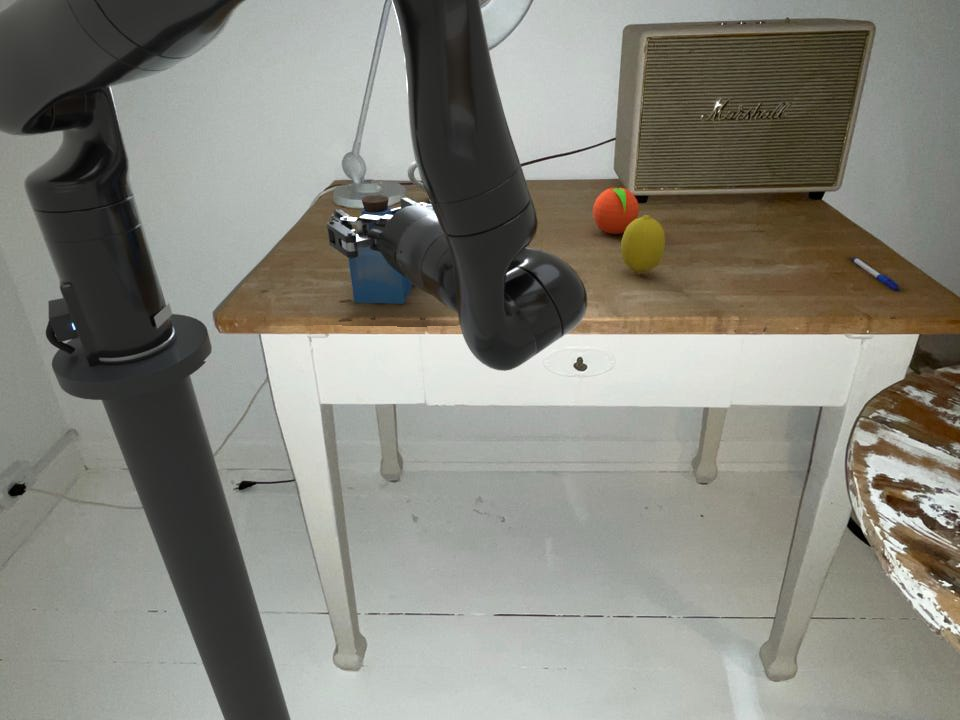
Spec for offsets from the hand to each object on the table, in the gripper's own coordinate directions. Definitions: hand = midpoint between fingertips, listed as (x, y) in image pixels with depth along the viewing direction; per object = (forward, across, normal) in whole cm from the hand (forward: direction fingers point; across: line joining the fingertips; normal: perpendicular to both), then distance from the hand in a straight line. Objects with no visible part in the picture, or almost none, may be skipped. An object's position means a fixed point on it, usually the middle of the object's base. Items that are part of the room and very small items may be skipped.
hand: (370, 211), depth 76 cm
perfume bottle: (-2, 0, +10) cm, 10 cm away
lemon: (-15, -31, +10) cm, 36 cm away
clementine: (-1, -39, +10) cm, 40 cm away
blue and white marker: (-31, -56, +10) cm, 65 cm away
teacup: (+30, -26, +10) cm, 41 cm away
